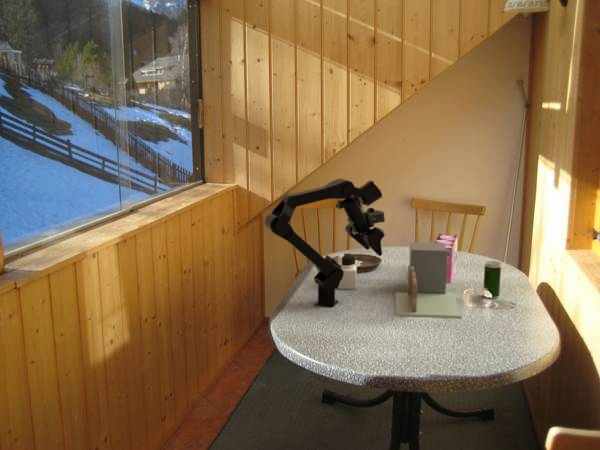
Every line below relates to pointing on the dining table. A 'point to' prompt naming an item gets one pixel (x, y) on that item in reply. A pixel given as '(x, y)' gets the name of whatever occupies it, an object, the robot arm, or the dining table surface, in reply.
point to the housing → (428, 283)
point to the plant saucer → (365, 262)
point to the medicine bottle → (348, 271)
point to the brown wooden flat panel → (413, 290)
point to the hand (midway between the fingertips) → (374, 252)
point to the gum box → (449, 254)
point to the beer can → (492, 278)
